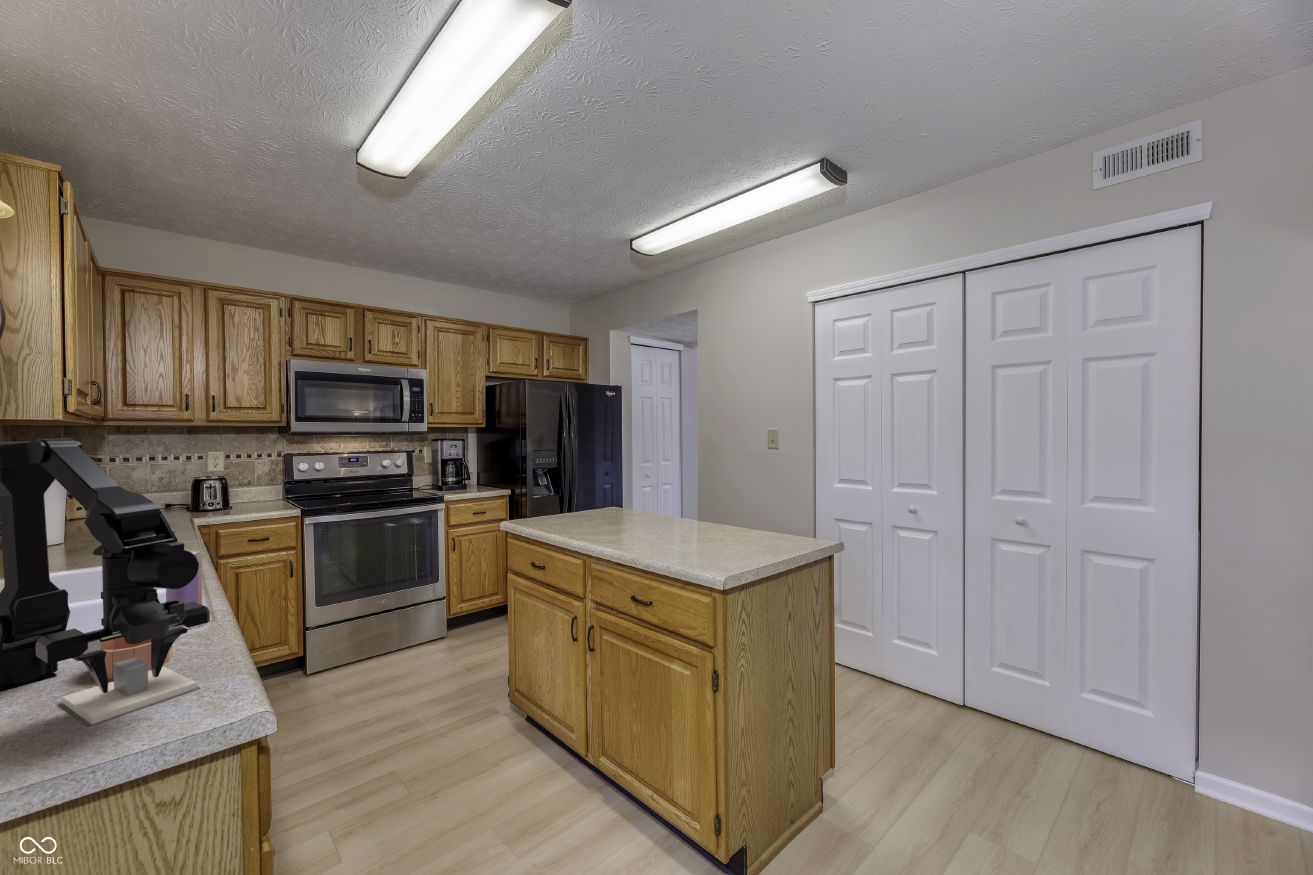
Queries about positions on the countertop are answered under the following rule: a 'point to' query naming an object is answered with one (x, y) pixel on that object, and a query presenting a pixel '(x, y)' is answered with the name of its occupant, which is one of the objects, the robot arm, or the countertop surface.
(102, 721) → the mat
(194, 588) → the beverage can
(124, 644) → the bowl
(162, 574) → the robot arm
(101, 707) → the cover sheet
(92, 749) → the countertop surface
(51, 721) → the countertop surface
